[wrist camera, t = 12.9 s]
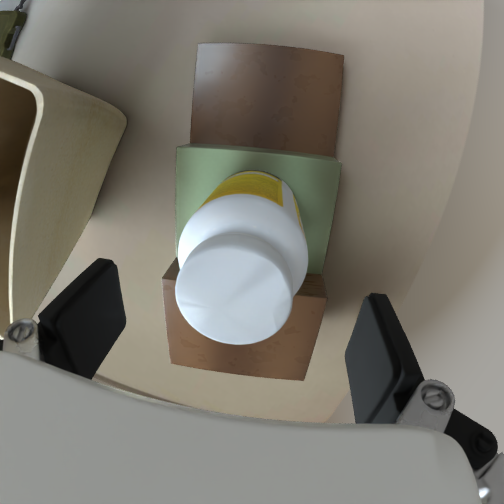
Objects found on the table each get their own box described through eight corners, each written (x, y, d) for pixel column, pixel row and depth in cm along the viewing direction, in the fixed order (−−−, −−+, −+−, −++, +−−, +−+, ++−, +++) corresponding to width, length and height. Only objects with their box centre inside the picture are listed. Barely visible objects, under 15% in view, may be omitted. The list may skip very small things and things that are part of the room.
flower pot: (175, 102, 24) (46, 92, 8) (105, 259, 31) (14, 353, 16) (48, 47, 21) (-67, 42, 6) (6, 186, 28) (-88, 234, 13)
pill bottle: (197, 187, 21) (124, 254, 11) (279, 154, 20) (281, 192, 9) (232, 261, 24) (198, 370, 13) (310, 235, 22) (333, 338, 12)
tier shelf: (339, 59, 21) (368, 32, 13) (300, 320, 32) (303, 381, 24) (203, 48, 21) (169, 18, 13) (193, 307, 33) (170, 363, 25)
